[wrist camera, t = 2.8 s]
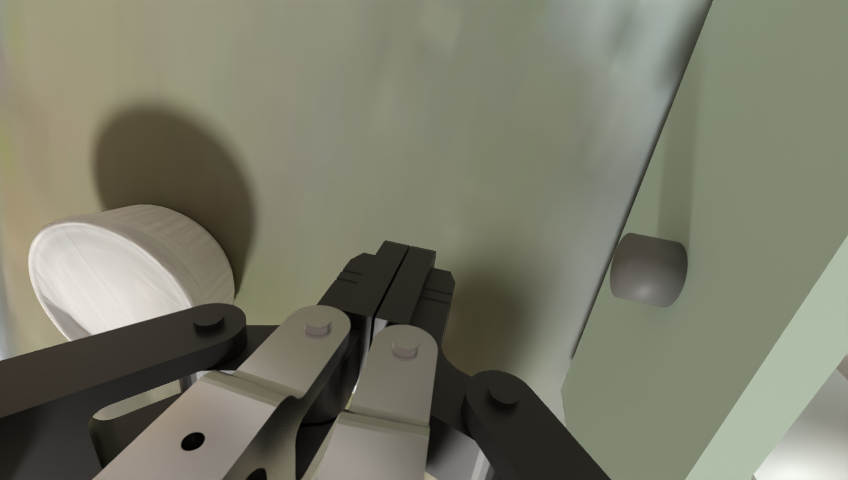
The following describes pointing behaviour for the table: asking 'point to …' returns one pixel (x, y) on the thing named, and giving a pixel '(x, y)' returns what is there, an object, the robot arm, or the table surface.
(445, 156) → the table surface
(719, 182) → the drawer
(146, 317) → the ramekin
